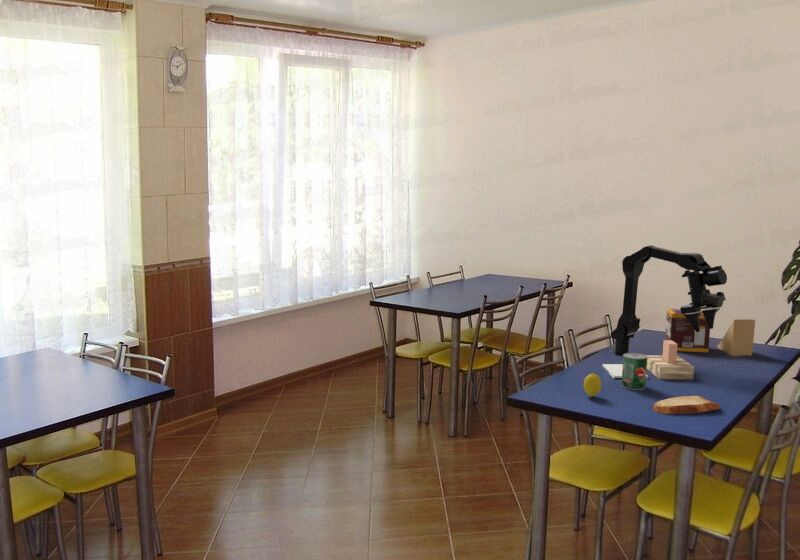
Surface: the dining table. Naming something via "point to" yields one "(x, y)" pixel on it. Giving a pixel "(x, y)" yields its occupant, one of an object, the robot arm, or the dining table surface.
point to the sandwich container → (739, 338)
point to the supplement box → (687, 332)
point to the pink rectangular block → (669, 351)
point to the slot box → (669, 368)
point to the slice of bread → (685, 405)
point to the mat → (615, 370)
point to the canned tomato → (634, 371)
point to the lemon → (592, 384)
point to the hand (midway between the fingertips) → (704, 330)
